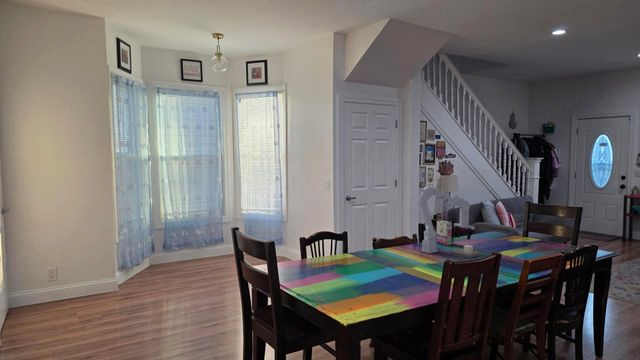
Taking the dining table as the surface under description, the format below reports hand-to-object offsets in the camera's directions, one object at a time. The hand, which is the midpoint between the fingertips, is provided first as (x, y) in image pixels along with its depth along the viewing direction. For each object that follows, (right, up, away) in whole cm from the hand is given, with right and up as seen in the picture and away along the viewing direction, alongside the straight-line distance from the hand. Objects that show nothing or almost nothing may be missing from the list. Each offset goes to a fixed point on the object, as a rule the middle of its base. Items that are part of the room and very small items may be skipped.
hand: (463, 238), depth 277 cm
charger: (0, -10, -8) cm, 12 cm away
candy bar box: (-5, -8, +26) cm, 27 cm away
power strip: (-1, -10, -6) cm, 12 cm away
